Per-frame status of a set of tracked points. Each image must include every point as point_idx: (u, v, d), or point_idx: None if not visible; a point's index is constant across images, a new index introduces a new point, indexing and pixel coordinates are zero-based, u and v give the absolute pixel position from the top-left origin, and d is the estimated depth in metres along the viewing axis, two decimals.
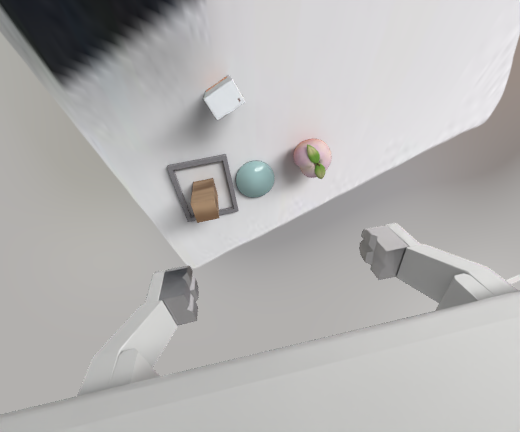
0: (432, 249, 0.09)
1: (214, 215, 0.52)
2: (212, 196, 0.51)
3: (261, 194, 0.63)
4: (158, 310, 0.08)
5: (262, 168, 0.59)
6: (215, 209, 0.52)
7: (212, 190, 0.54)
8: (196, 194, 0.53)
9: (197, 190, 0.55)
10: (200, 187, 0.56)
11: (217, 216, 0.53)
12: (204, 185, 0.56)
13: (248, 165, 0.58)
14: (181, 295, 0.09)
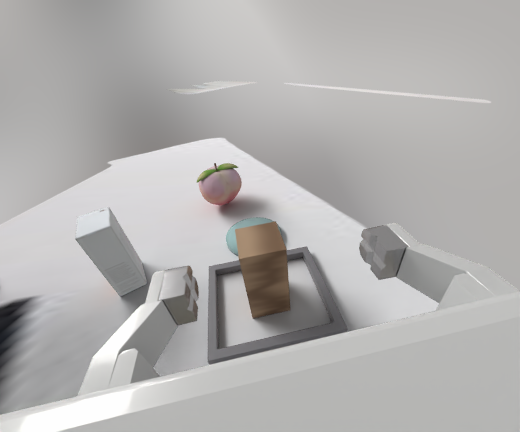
0: (432, 249, 0.09)
1: (269, 226, 0.27)
2: None
3: None
4: (158, 310, 0.08)
5: None
6: (256, 226, 0.28)
7: None
8: None
9: None
10: None
11: (272, 223, 0.28)
12: None
13: (229, 242, 0.41)
14: (181, 295, 0.09)
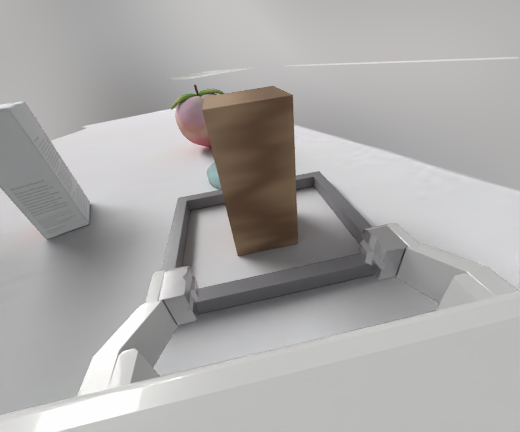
0: (432, 249, 0.09)
1: (262, 89, 0.16)
2: None
3: None
4: (158, 310, 0.08)
5: None
6: (240, 91, 0.17)
7: None
8: None
9: None
10: None
11: (267, 87, 0.17)
12: None
13: (211, 175, 0.30)
14: (181, 295, 0.09)
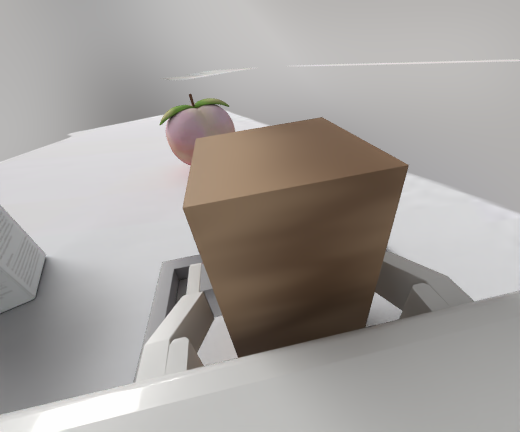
0: (396, 257, 0.09)
1: (305, 126, 0.08)
2: None
3: None
4: (200, 301, 0.09)
5: None
6: (263, 129, 0.09)
7: None
8: None
9: None
10: None
11: (312, 121, 0.09)
12: None
13: None
14: None
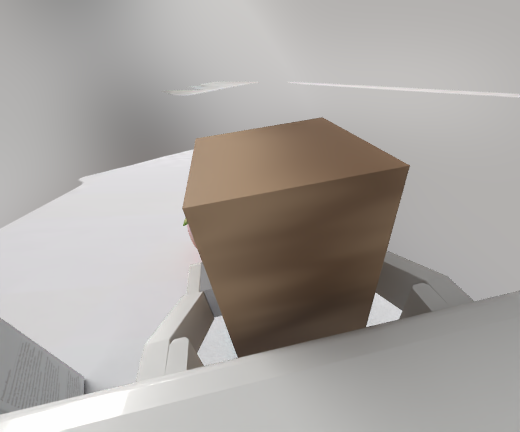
0: (396, 257, 0.09)
1: (306, 126, 0.08)
2: None
3: None
4: (200, 301, 0.09)
5: None
6: (263, 129, 0.09)
7: None
8: None
9: None
10: None
11: (312, 121, 0.09)
12: None
13: None
14: None
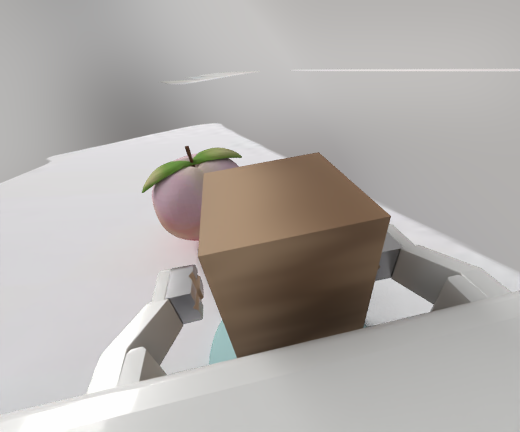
0: (426, 250, 0.09)
1: (303, 163, 0.09)
2: None
3: None
4: (165, 309, 0.08)
5: None
6: (265, 164, 0.10)
7: None
8: None
9: None
10: None
11: (309, 156, 0.10)
12: None
13: None
14: (187, 294, 0.09)
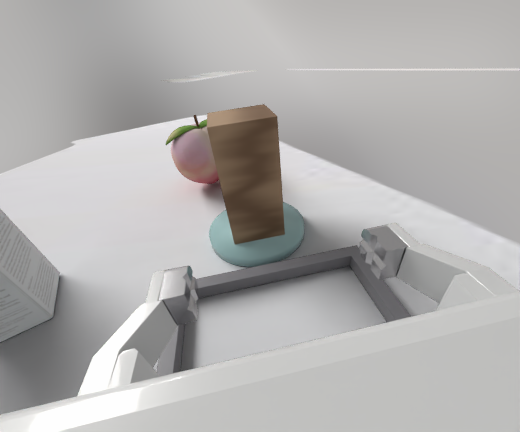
0: (432, 249, 0.09)
1: (255, 107, 0.20)
2: None
3: (293, 211, 0.26)
4: (158, 310, 0.08)
5: None
6: (237, 109, 0.20)
7: None
8: None
9: None
10: None
11: (259, 105, 0.20)
12: None
13: (214, 239, 0.23)
14: (181, 295, 0.09)
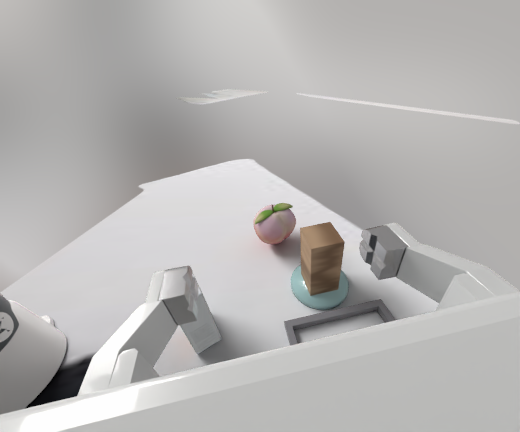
0: (432, 249, 0.09)
1: (326, 226, 0.37)
2: (300, 235, 0.38)
3: None
4: (158, 310, 0.08)
5: (299, 275, 0.44)
6: (316, 225, 0.37)
7: (301, 248, 0.40)
8: (308, 263, 0.37)
9: (308, 269, 0.38)
10: (306, 272, 0.39)
11: (327, 223, 0.38)
12: (304, 270, 0.40)
13: (297, 291, 0.41)
14: (181, 295, 0.09)
